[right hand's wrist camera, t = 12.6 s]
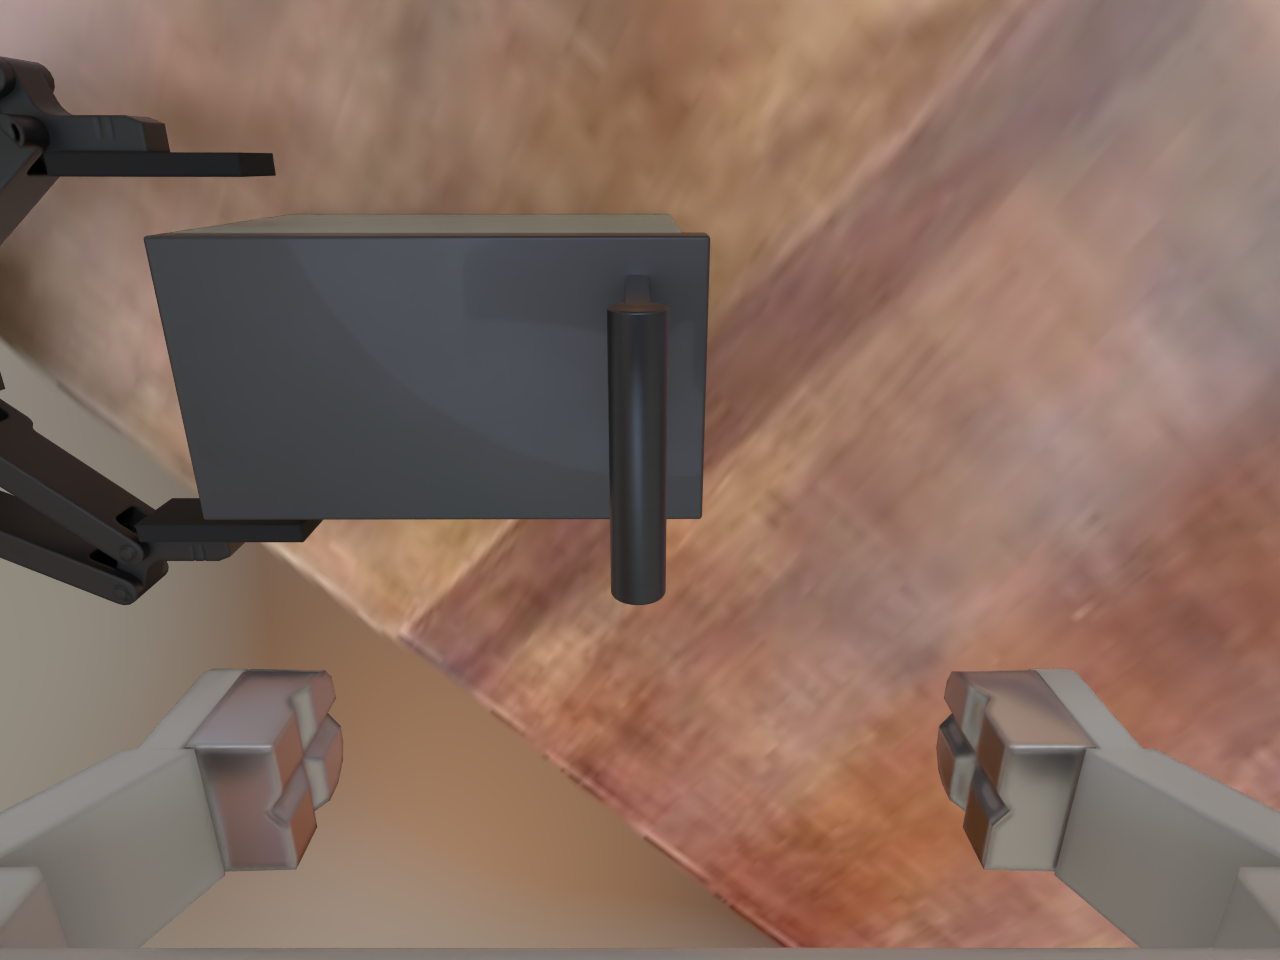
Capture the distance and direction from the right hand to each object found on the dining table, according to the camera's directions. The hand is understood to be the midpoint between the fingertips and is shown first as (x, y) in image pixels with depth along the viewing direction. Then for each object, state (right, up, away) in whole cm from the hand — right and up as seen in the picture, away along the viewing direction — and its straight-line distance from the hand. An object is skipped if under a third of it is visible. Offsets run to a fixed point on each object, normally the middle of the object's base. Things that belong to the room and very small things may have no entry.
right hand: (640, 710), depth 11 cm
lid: (-6, +7, +17) cm, 19 cm away
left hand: (-13, +8, +20) cm, 25 cm away
